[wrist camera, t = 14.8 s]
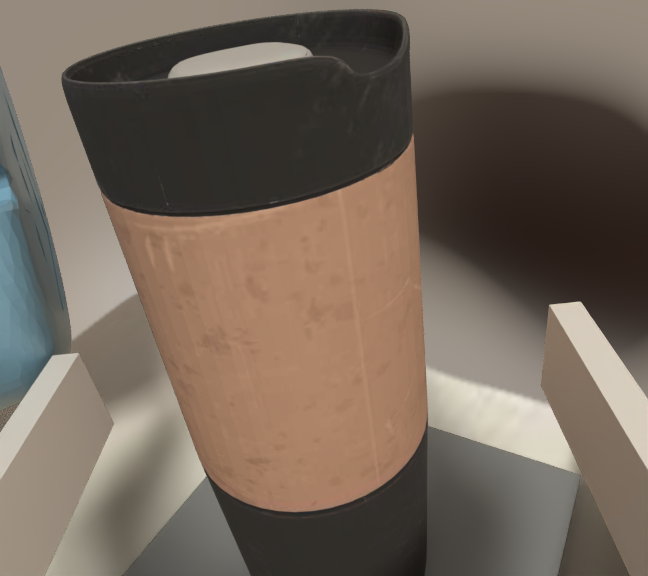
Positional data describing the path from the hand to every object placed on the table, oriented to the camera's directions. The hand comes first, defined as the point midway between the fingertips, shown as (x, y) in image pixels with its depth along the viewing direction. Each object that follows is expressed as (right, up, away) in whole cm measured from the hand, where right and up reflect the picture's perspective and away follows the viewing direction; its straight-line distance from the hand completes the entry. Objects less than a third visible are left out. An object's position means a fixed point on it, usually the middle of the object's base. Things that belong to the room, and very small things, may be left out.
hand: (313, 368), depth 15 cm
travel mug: (+1, -9, +8) cm, 12 cm away
